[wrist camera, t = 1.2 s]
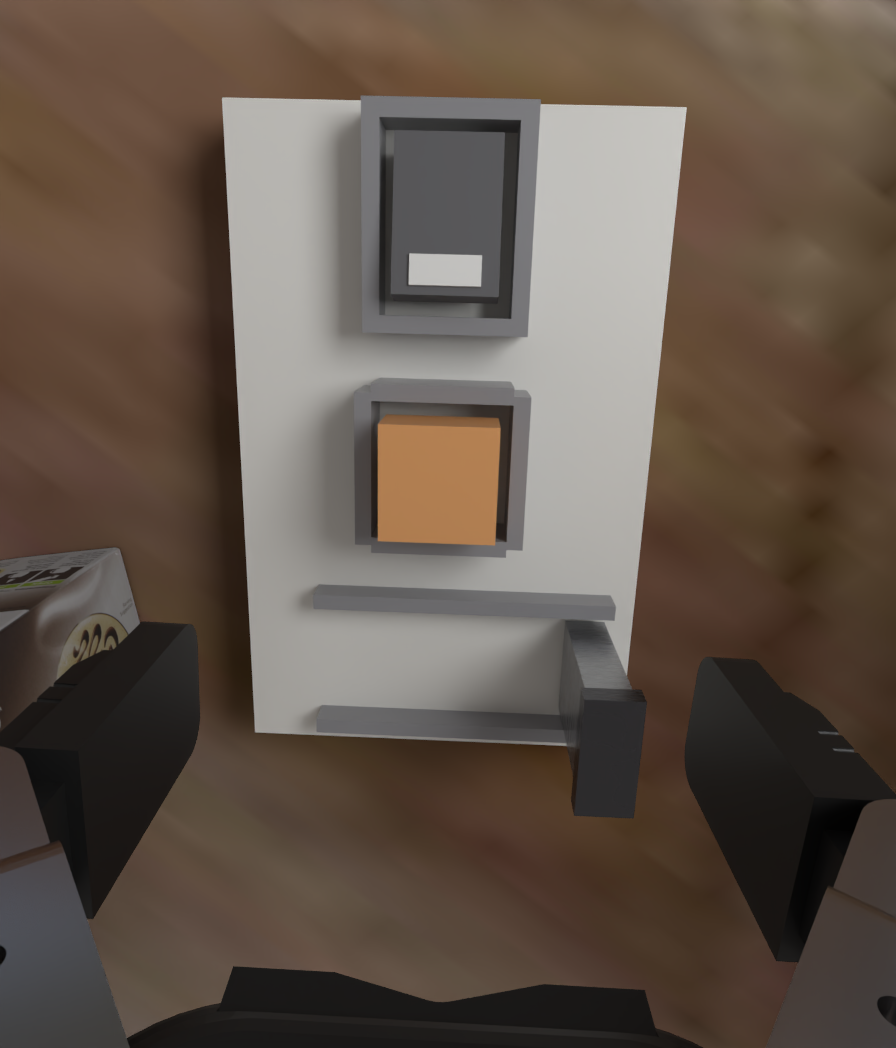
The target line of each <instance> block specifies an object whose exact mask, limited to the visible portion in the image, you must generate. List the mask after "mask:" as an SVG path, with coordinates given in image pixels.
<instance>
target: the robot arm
mask: <svg viewBox="0 0 896 1048" xmlns="http://www.w3.org/2000/svg"><path fill="white" fill-rule="evenodd" d="M199 722H200V702H199V674H198V645H197V635H196V631H195V628H194V627H193V625H191V624H176V623H160V622H141V623H140V624H139V625H138V626H137V627H136V628H135V629H134V630H133V631H132V632H131V633H130V634H129V635H128V636H127V637H126V638H125V639H124V640H122V641H121V642H120V643H119V644H118V645H117V646H116V647H115V648H114V649H113V650H103V651H100V652H98V653H96V654H94V655H92V656H90V657H88V658H86V659H84V660H82V661H80V662H78V663H76V664H74V665H72V666H71V667H70V668H69V669H68V670H67V671H66V672H65V673H64V674H63V675H62V676H60V677H59V678H58V679H57V680H56V681H55V682H54V685H53V687H52V686H50V687H49V688H47V689H46V690H45V691H44V692H43V693H42V694H41V695H40V696H39V697H38V698H37V702H32V703H31V704H30V705H29V706H28V707H27V708H26V709H25V710H24V711H22V712H21V713H20V714H19V715H18V716H17V717H16V718H15V719H14V720H13V721H12V722H10V723H9V724H8V725H7V726H6V727H5V728H4V729H3V730H2V731H1V732H0V1048H703V1047H701V1046H699V1045H697V1044H695V1043H693V1042H691V1041H688V1040H686V1039H683V1038H681V1037H679V1036H676V1035H674V1034H671V1033H669V1032H666V1031H662V1030H659V1029H656V1028H655V1026H654V1022H653V1019H652V1015H651V1011H650V1008H649V1004H648V1001H647V997H646V994H645V990H633V989H616V988H598V987H581V986H564V985H546V984H543V985H538V986H532V987H527V988H521V989H516V990H511V991H505V992H500V993H494V994H489V995H483V996H478V997H473V998H467V999H462V1000H456V1001H451V1002H433V1001H428V1000H425V999H421V998H418V997H415V996H412V995H408V994H405V993H402V992H398V991H395V990H392V989H388V988H385V987H382V986H378V985H375V984H372V983H368V982H365V981H362V980H359V979H355V978H352V977H349V976H345V975H342V974H339V973H335V972H321V971H303V970H286V969H268V968H251V967H234V966H233V969H232V972H231V975H230V978H229V981H228V984H227V987H226V990H225V993H224V995H223V998H222V1001H221V1003H219V1004H214V1005H209V1006H204V1007H201V1008H197V1009H194V1010H191V1011H187V1012H184V1013H180V1014H178V1015H175V1016H173V1017H170V1018H168V1019H165V1020H163V1021H160V1022H158V1023H155V1024H153V1025H151V1026H150V1027H148V1028H146V1029H144V1030H142V1031H140V1032H138V1033H136V1034H134V1035H132V1036H130V1037H128V1038H126V1035H125V1032H124V1029H123V1026H122V1023H121V1020H120V1017H119V1014H118V1011H117V1008H116V1005H115V1002H114V999H113V996H112V993H111V990H110V987H109V984H108V981H107V978H106V975H105V972H104V969H103V966H102V963H101V960H100V957H99V954H98V951H97V948H96V945H95V942H94V939H93V936H92V933H91V930H90V927H89V924H88V921H87V918H88V919H93V918H94V916H95V915H96V913H97V911H98V910H99V908H100V906H101V905H102V903H103V901H104V900H105V898H106V896H107V895H108V893H109V891H110V890H111V888H112V886H113V885H114V883H115V881H116V880H117V878H118V876H119V875H120V873H121V871H122V870H123V868H124V866H125V865H126V863H127V861H128V860H129V858H130V856H131V855H132V853H133V851H134V850H135V848H136V846H137V845H138V843H139V841H140V840H141V838H142V836H143V835H144V833H145V831H146V830H147V828H148V826H149V825H150V823H151V821H152V820H153V818H154V816H155V815H156V813H157V811H158V809H159V808H160V806H161V804H162V803H163V801H164V799H165V798H166V796H167V794H168V793H169V791H170V789H171V788H172V786H173V784H174V783H175V781H176V779H177V778H178V776H179V774H180V773H181V771H182V769H183V768H184V766H185V764H186V763H187V761H188V759H189V758H190V756H191V754H192V752H193V749H194V747H195V744H196V740H197V736H198V730H199ZM685 769H686V775H687V779H688V783H689V785H690V788H691V790H692V792H693V794H694V796H695V798H696V800H697V802H698V804H699V806H700V808H701V810H702V812H703V814H704V816H705V818H706V820H707V822H708V824H709V826H710V828H711V830H712V832H713V834H714V836H715V838H716V840H717V842H718V844H719V846H720V848H721V850H722V852H723V854H724V856H725V858H726V860H727V862H728V865H729V867H730V869H731V871H732V873H733V875H734V877H735V879H736V881H737V883H738V885H739V887H740V889H741V891H742V893H743V895H744V897H745V899H746V901H747V903H748V905H749V907H750V909H751V911H752V913H753V915H754V917H755V919H756V921H757V923H758V925H759V927H760V929H761V931H762V933H763V935H764V937H765V939H766V941H767V943H768V945H769V947H770V949H771V951H772V953H773V955H774V957H775V959H776V961H785V962H798V965H797V968H796V970H795V973H794V975H793V978H792V981H791V983H790V986H789V989H788V991H787V994H786V996H785V999H784V1002H783V1004H782V1007H781V1010H780V1012H779V1015H778V1017H777V1020H776V1023H775V1025H774V1028H773V1031H772V1033H771V1036H770V1038H769V1041H768V1044H767V1046H766V1048H896V794H895V793H894V792H893V791H892V790H891V789H890V788H889V786H888V785H887V784H886V783H885V782H884V781H883V780H882V779H881V778H880V777H879V776H878V774H877V773H876V772H875V771H874V770H873V769H872V768H871V767H870V766H869V765H868V764H867V762H866V761H865V760H864V759H863V758H862V757H861V756H860V755H859V754H858V753H854V748H853V747H852V746H851V745H850V744H849V743H848V742H847V741H846V739H845V738H844V737H843V736H841V735H838V731H837V730H836V729H835V727H834V726H833V725H832V724H831V723H830V722H829V721H828V720H827V719H826V718H825V716H824V715H823V714H822V713H821V712H820V711H819V710H817V709H815V708H814V707H812V706H811V705H809V704H807V703H806V702H804V701H803V700H801V699H799V698H798V697H796V696H795V695H793V694H791V693H787V692H783V691H782V689H781V688H780V687H779V686H778V685H777V684H776V682H775V681H774V680H773V679H772V678H771V677H770V676H769V674H768V673H767V672H766V671H765V670H764V669H763V667H762V666H761V665H760V664H759V663H758V662H757V661H755V660H749V659H733V658H716V657H706V658H704V659H703V660H702V662H701V664H700V666H699V670H698V674H697V680H696V686H695V691H694V697H693V703H692V709H691V715H690V720H689V726H688V732H687V738H686V744H685Z"/></svg>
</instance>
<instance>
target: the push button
mask: <svg viewBox="0 0 896 1048" xmlns="http://www.w3.org/2000/svg"><path fill="white" fill-rule="evenodd" d="M500 432H501V427H500V423H499V418H486V417H455V416H423V415H392V414H386V415H385V416H384V418H383V419H382V420H381V421H380V422H379V423H378V541H385V542H413V543H440V544H467V545H495V538H496V517H497V496H498V475H499V453H500Z"/></svg>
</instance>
